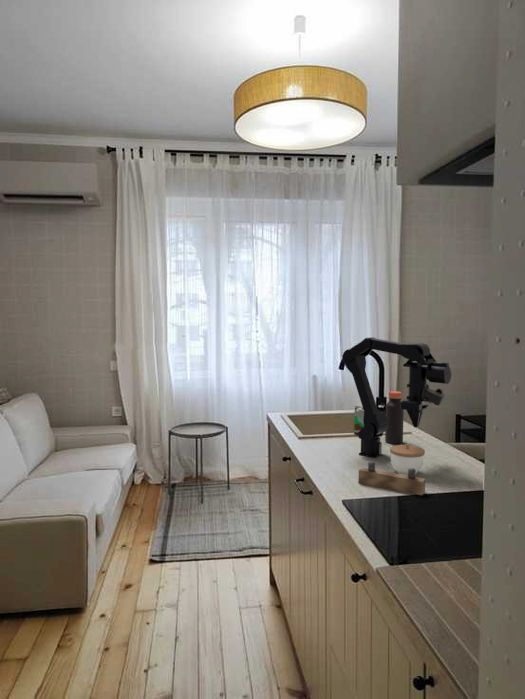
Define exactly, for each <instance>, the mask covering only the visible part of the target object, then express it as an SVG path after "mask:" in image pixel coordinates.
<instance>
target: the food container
mask: <svg viewBox="0 0 525 699" xmlns="http://www.w3.org/2000/svg"><path fill="white" fill-rule="evenodd" d="M353 413H354V414H353V415H354V418H353V419H354V420H353V434H354V435H358V432H359V431H360V430H361V429H363V428H364V423H363V417H364V410H363V407H362V405H361V406H360V405H354V412H353Z"/></svg>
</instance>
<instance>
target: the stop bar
mask: <svg viewBox="0 0 525 699" xmlns="http://www.w3.org/2000/svg"><path fill="white" fill-rule="evenodd" d="M367 462H368V466H367V467H363V466H362V467H360V468H359V469H358V481H357V482H358V484H363V485H368V486H373V487H378V488H382V489H387V490H393V491H398V492H403V493H409V494H412V495H418V496H424V494H425V492H426V478H425V477H424V478H423V477H418V476H416V475H415V469H412V468H409V469H408V476H407V475H402V474H398V473H397V472H396V473H395V472H390V471H385V470H379V469H376V462H375V461H367Z"/></svg>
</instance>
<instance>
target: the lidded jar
mask: <svg viewBox="0 0 525 699" xmlns="http://www.w3.org/2000/svg"><path fill="white" fill-rule="evenodd" d="M425 452H426V451H425V449H424V448H422V447H420V446H417V445H416V446H415V445H410V444H409V443H405V444H394V445H392V446H390V447H389V453H390V454H389V456H390V457H389V458H390V462H391V466H392V467H393V469H394V470H395V471H396V474H402V475H407V476H408V469H409V468H412V469H415V476H416V475H417V473H418V472H420V470H421V469H422V468H423V466H424V462H425Z"/></svg>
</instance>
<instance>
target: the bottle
mask: <svg viewBox="0 0 525 699" xmlns="http://www.w3.org/2000/svg"><path fill="white" fill-rule="evenodd" d="M402 394H403V393H402V391H399V390H394V391H393V390H392V391H391V390H390V391H388V399H389V401H388V402H386V404H385V415H386V419H387V421H388V423H387V429H386V431H385V432H384V433H385V434H384V435H385V436H384V442H385V443H387V444H391V445H402V444H403V443H404V419H405V418H404V416H405V415H404V414H405V412H404V411H405V409H400V403H401V402H402V401H401V400H402V398H403V395H402Z"/></svg>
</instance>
